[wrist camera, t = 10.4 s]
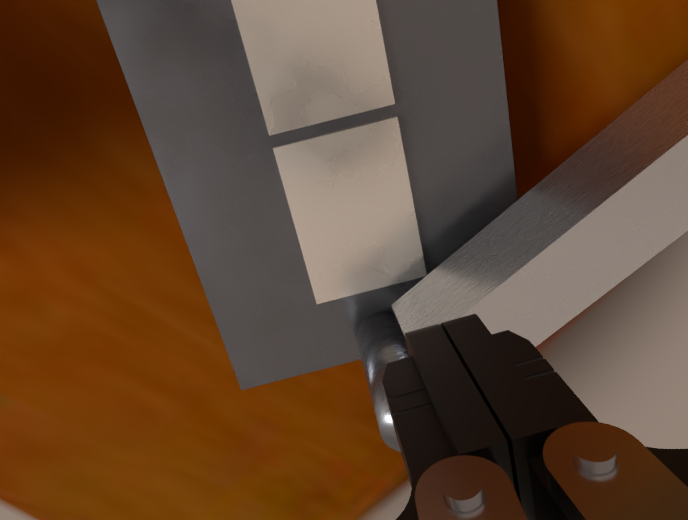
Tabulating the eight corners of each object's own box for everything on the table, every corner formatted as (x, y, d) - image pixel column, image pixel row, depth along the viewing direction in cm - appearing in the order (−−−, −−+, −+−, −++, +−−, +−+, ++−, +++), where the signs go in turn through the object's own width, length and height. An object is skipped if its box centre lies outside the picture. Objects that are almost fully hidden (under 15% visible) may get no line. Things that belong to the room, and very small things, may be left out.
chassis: (108, -27, 21) (-17, -81, 12) (456, -112, 21) (580, -226, 12) (246, 358, 28) (230, 500, 19) (505, 292, 28) (606, 402, 19)
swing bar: (433, 348, 24) (464, 406, 20) (389, 302, 23) (411, 354, 19) (817, 42, 21) (942, 41, 17) (787, -28, 19) (913, -48, 16)
